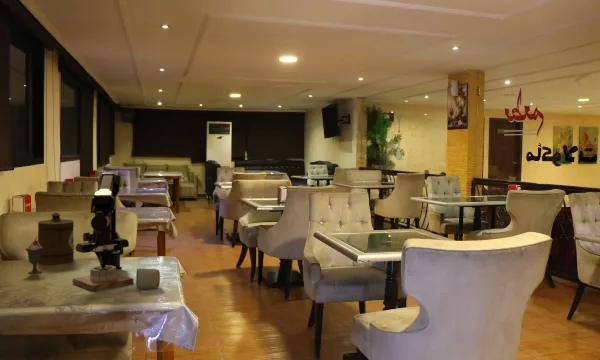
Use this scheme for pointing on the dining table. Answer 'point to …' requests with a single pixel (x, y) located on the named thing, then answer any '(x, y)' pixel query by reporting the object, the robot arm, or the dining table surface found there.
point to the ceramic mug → (147, 279)
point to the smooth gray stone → (102, 268)
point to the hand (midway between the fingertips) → (103, 267)
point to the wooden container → (56, 240)
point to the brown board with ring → (102, 279)
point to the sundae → (34, 255)
